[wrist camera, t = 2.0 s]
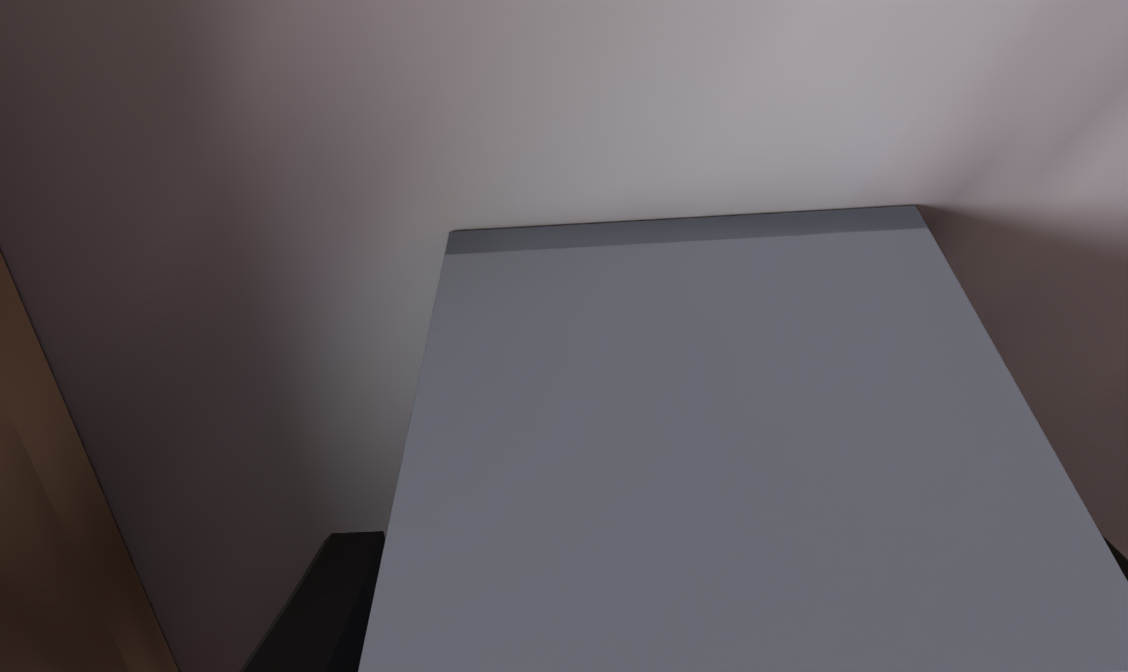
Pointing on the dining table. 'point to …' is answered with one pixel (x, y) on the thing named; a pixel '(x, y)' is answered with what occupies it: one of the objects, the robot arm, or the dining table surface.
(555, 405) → the box
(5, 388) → the big crate
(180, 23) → the dining table surface
